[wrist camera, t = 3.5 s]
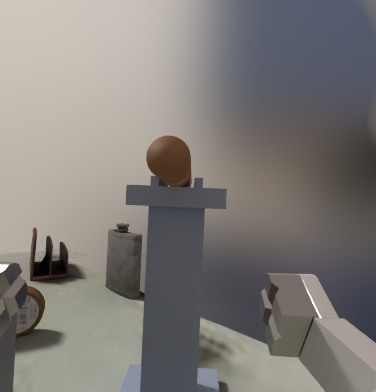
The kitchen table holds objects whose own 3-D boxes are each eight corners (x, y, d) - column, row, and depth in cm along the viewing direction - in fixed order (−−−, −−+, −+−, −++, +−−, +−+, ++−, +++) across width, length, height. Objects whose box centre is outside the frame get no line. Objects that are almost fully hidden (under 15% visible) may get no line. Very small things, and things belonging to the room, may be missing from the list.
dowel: (191, 179, 18) (189, 134, 18) (146, 180, 18) (145, 136, 18) (191, 191, 40) (191, 171, 40) (171, 192, 40) (171, 172, 40)
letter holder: (30, 281, 75) (32, 232, 76) (29, 265, 92) (31, 225, 93) (68, 277, 81) (70, 231, 81) (61, 263, 98) (63, 225, 98)
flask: (128, 301, 64) (132, 226, 64) (101, 285, 74) (104, 221, 75) (141, 297, 67) (144, 226, 67) (113, 283, 77) (116, 221, 77)
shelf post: (227, 466, 25) (238, 178, 25) (99, 458, 25) (114, 173, 26) (215, 380, 37) (223, 186, 37) (129, 375, 37) (139, 182, 38)
